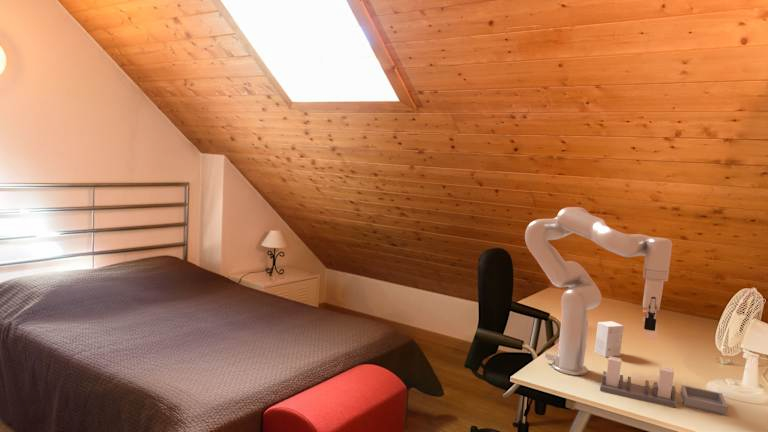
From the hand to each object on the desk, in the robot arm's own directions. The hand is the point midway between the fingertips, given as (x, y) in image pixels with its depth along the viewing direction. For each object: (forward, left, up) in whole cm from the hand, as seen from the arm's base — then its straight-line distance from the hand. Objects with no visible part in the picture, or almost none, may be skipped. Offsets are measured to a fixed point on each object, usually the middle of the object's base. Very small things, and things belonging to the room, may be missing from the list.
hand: (649, 327), depth 182 cm
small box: (-12, +38, -24) cm, 46 cm away
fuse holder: (-1, 0, -23) cm, 23 cm away
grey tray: (+19, +4, -23) cm, 30 cm away
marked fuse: (+1, 0, -3) cm, 3 cm away
